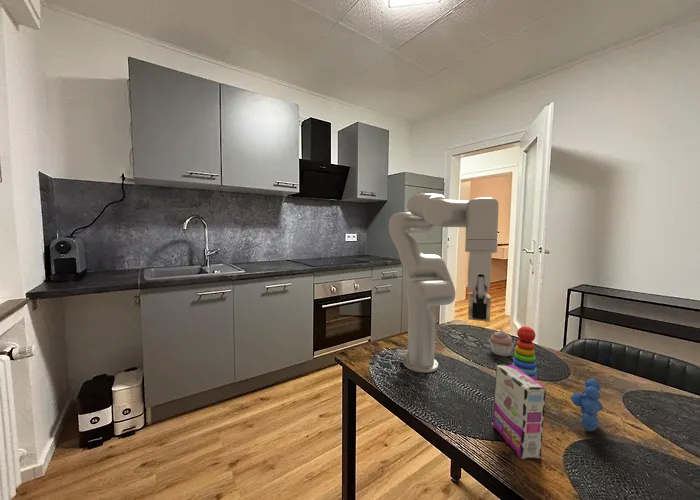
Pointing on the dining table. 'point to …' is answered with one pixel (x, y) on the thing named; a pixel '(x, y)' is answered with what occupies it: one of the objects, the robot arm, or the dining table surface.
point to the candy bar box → (519, 411)
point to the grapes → (589, 404)
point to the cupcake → (501, 343)
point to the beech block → (470, 307)
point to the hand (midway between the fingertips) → (478, 314)
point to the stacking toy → (525, 352)
